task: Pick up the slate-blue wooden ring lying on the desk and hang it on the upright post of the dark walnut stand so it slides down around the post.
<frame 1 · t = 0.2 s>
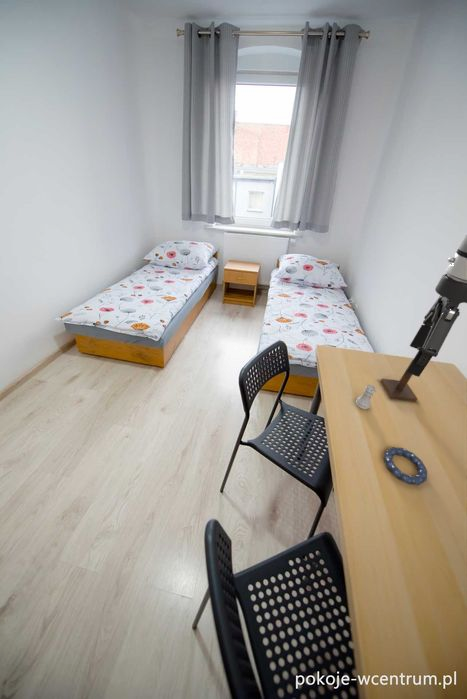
hand: (413, 359, 69), 26 cm above the table, tool pointing down, fingers open, 13 cm apart
stand: (397, 391, 100), on the table
ring: (405, 465, 74), point 1 cm above the table
rook chess piece: (361, 405, 92), on the table
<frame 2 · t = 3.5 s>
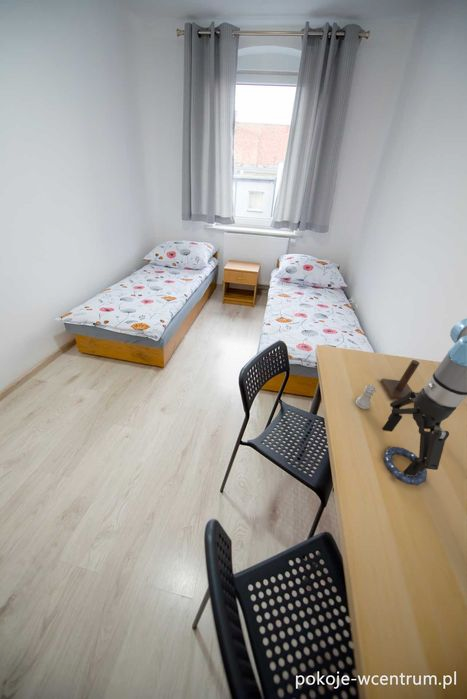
hand: (396, 450, 77), 1 cm above the table, tool pointing down, fingers open, 13 cm apart
ring: (404, 465, 74), point 1 cm above the table, touching gripper
everything else where it was.
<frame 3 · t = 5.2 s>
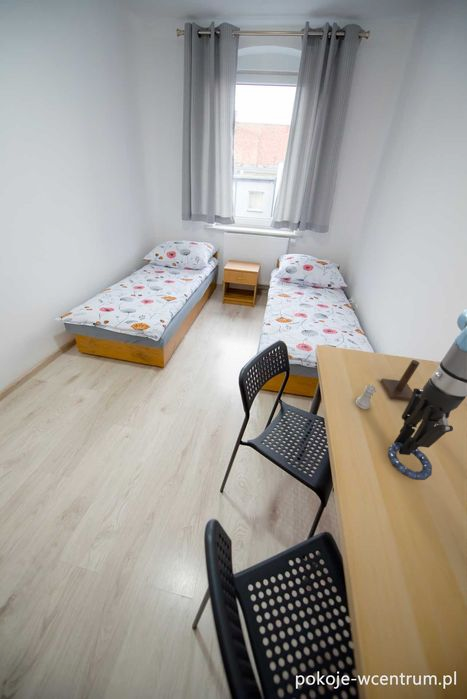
hand: (401, 448, 76), 2 cm above the table, tool pointing down, fingers closed on ring, 2 cm apart
ring: (409, 460, 73), point 3 cm above the table, touching gripper
everything else where it was.
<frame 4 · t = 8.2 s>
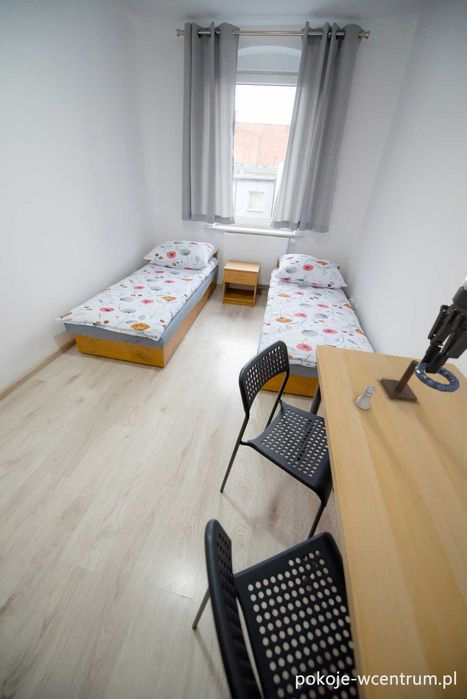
hand: (427, 369, 77), 20 cm above the table, tool pointing down, fingers closed on ring, 2 cm apart
ring: (436, 376, 74), point 21 cm above the table, touching gripper
everything else where it was.
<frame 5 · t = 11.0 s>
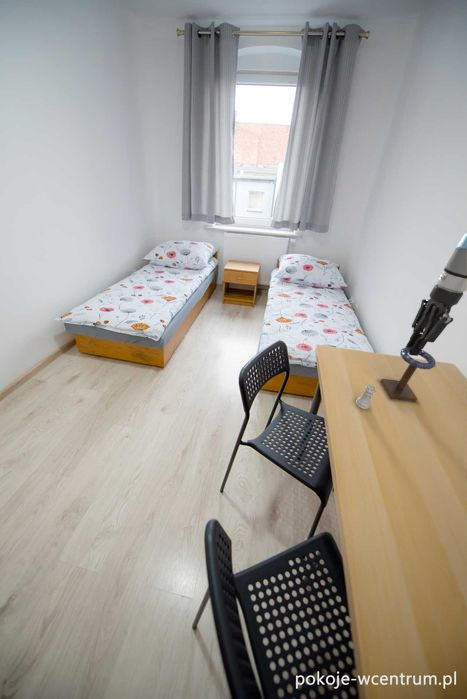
hand: (411, 352, 95), 15 cm above the table, tool pointing down, fingers closed on ring, 2 cm apart
ring: (417, 357, 91), point 15 cm above the table, touching gripper
everything else where it was.
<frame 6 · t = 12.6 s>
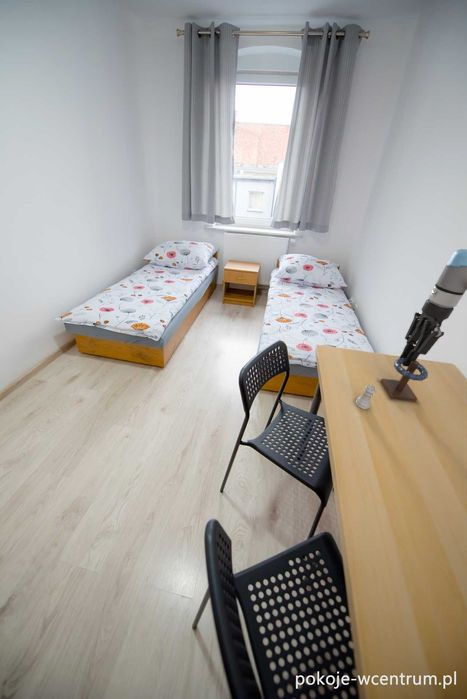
hand: (404, 363, 98), 10 cm above the table, tool pointing down, fingers closed on ring, 2 cm apart
ring: (410, 369, 94), point 10 cm above the table, touching gripper
everything else where it was.
when the fingers open (13 cm above the table, at t = 16.7 s): ring drops 11 cm, resting on stand.
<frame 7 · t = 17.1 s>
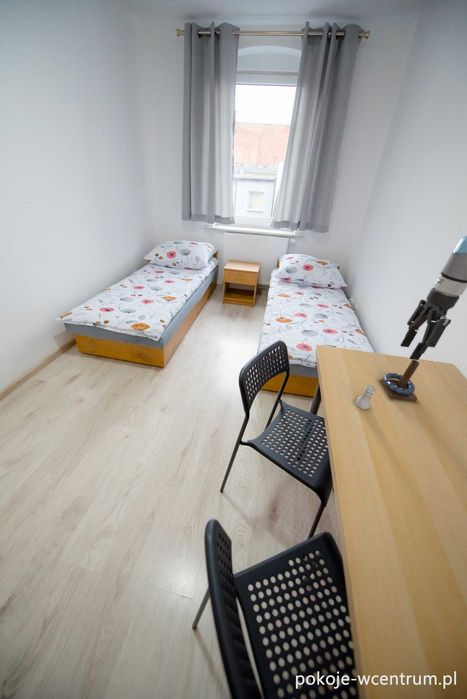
hand: (409, 352, 96), 14 cm above the table, tool pointing down, fingers open, 7 cm apart
ring: (398, 383, 100), point 2 cm above the table, touching stand
everything else where it was.
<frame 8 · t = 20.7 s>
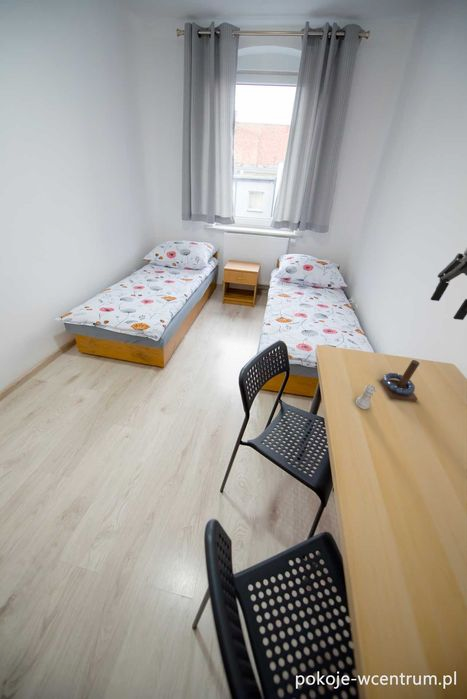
hand: (445, 309, 92), 29 cm above the table, tool pointing down, fingers open, 13 cm apart
nothing on the table moved.
at the end: ring 1.5 cm from the stand (horizontally); ring point 2.5 cm above the table; the gripper is holding nothing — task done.
